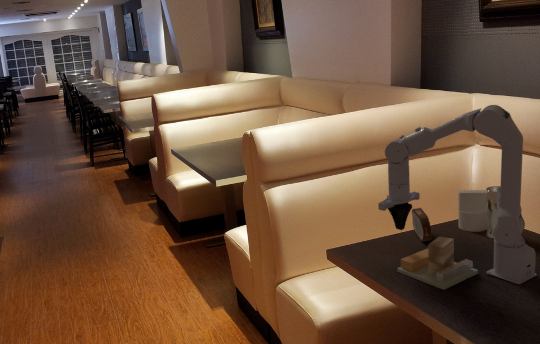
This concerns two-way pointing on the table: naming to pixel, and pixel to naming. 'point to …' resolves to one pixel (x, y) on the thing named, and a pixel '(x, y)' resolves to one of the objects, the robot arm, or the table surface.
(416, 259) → the block
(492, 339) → the table surface
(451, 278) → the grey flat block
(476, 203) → the white upright cylinder
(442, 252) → the maple block
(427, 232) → the tin
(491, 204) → the beer glass
